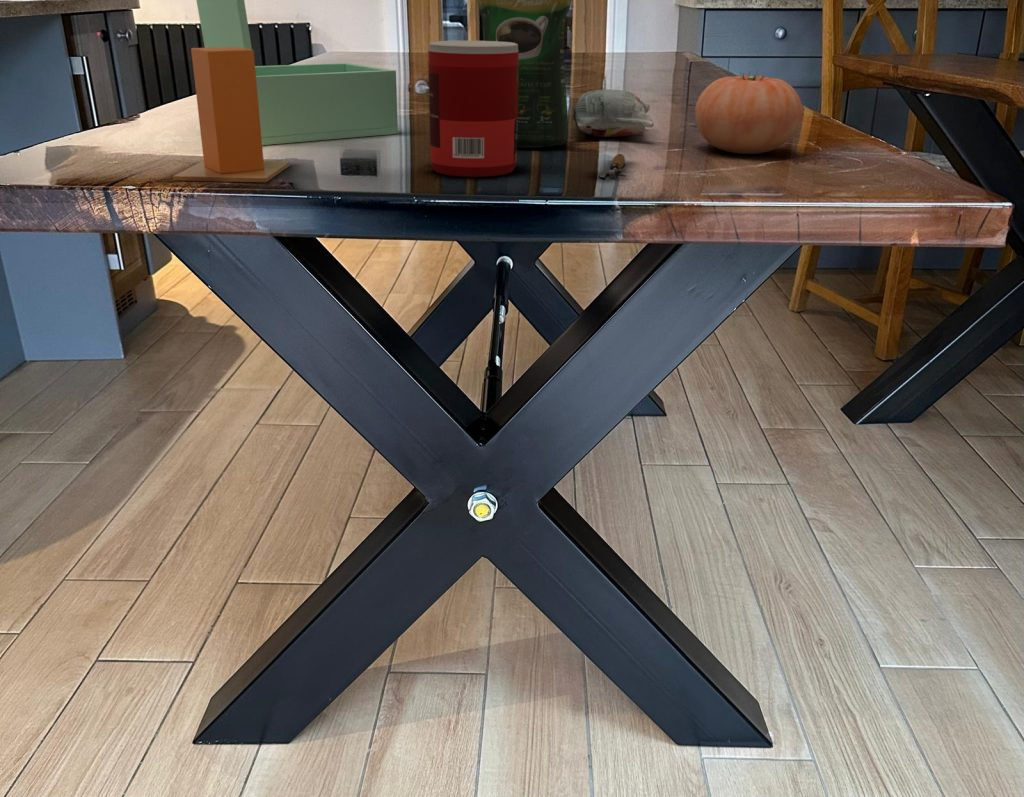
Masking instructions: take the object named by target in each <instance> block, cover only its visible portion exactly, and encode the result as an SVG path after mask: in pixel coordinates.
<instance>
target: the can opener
mask: <svg viewBox="0 0 1024 797" xmlns="http://www.w3.org/2000/svg"><path fill="white" fill-rule="evenodd" d="M625 163H626V157H625V155H624V154H622V153H618V154H616V155H615V156H614V157H613V158H612V160H611V164H610V166H609V170H605V171H601V172H599V173H598V178H604V179H605V178H606V176H607V175H608V177H609V180H616V179H617V174H618V173H619V174H620V172H621V173H624V172H626V171H627V169H625V168H623V167H624V166H625Z"/></svg>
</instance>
